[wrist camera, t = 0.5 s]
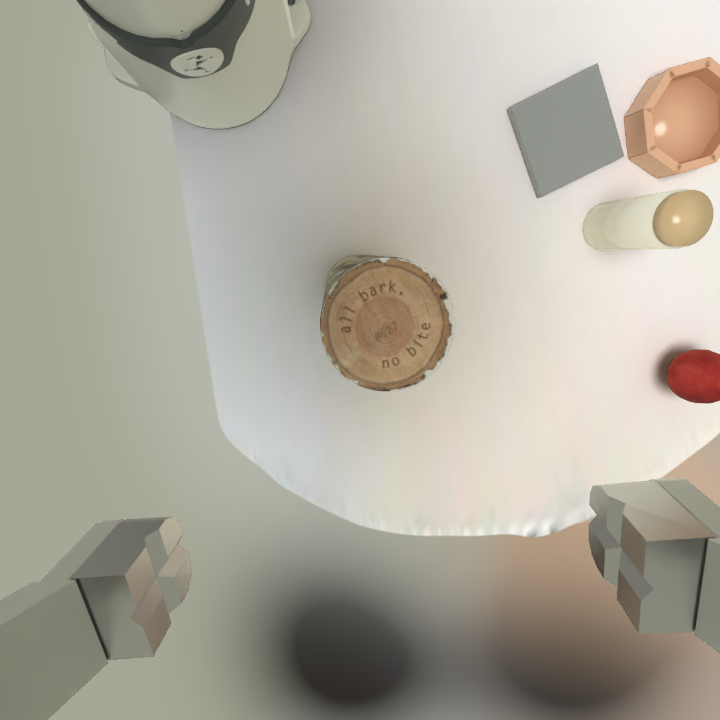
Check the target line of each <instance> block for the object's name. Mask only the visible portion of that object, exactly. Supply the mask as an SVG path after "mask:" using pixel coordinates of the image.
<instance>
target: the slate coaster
mask: <svg viewBox="0 0 720 720" xmlns="http://www.w3.org/2000/svg"><path fill="white" fill-rule="evenodd" d="M507 112H508V115H509V118H510V121H511V123H512V126H513V129H514V132H515V135H516V138H517V141H518V144H519V147H520V150H521V153H522V155H523V158H524V161H525V164H526V167H527V170H528V173H529V176H530V179H531V182H532V184H533V187H534V190H535V193H536V196H537V198H538V197H542V196H544V195H546V194H548V193H550V192H552V191H554V190H556V189H558V188H560V187H562V186H564V185H566V184H568V183H570V182H572V181H574V180H576V179H578V178H581V177H583V176H585V175H587V174H589V173H591V172H593V171H595V170H597V169H599V168H601V167H603V166H605V165H607V164H609V163H611V162H613V161H615V160H617V159H619V158H621V157H623V156H624V154H623V150H622V147H621V143H620V140H619V136H618V133H617V129H616V126H615V122H614V119H613V115H612V112H611V108H610V105H609V101H608V98H607V94H606V91H605V87H604V84H603V80H602V77H601V73H600V70H599V66H598V63H597V64H595V65H593V66H591V67H589V68H587V69H585V70H583V71H581V72H579V73H577V74H575V75H573V76H571V77H569V78H567V79H565V80H563V81H561V82H559V83H557V84H555V85H553V86H551V87H549V88H547V89H545V90H543V91H541V92H539V93H537V94H535V95H533V96H531V97H529V98H527V99H525V100H523V101H521V102H519V103H517V104H516V105H514V106H512V107H510V108H509V109H508V110H507Z"/></svg>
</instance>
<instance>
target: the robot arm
mask: <svg viewBox="0 0 720 720" xmlns="http://www.w3.org/2000/svg"><path fill="white" fill-rule="evenodd" d="M77 1H78V3H79V4H80V6H81V7H82V8H83V10H84V11H85V13H86V14H87V15H88V18H89V22H88V24H87V26H88V29H89V31H90V32H91V34H92V36H93V37H94V38H95V39H96V40H97V42H98V43H99V44H100V45H101V46H102V47H103V48H104V51H105V57H106V62H107V66H108V68H109V71H110V72H111V73H112V75H113V76H114V77H115V78H116V79H117V80H118V81H119V82H121V83H123V84H125V85H127V86H129V87H132V88H134V89H137V90H140V91H144V92H146V93H147V94H149V95H150V96H152V97H153V98H154V99H155V100H156V101H157V102H159V103H160V104H161V105H162V106H163V107H164V108H165V109H167V110H168V111H169V112H171V113H172V114H173V115H175V116H177V117H178V118H180V119H182V120H184V121H186V122H188V123H191V124H193V125H197V126H200V127H205V128H213V129H223V128H231V127H235V126H239V125H242V124H244V123H247V122H249V121H251V120H252V119H254V118H256V117H257V116H258V115H260V114H261V113H262V112H263V111H265V110H266V109H267V108H268V107H269V106H270V104H271V103H272V102H273V101H274V99H275V98H276V96H277V95H278V93H279V91H280V90H281V87H282V85H283V83H284V81H285V78H286V75H287V71H288V67H289V63H290V59H291V56H292V53H293V51H294V49H295V47H296V46H297V45H298V44H299V42H300V41H301V40H302V38H303V37H304V35H305V34H306V32H307V31H308V29H309V26H310V24H311V14H310V11H309V7H308V5H307V2H306V0H295V4H294V5H292V6H290V5H288V2H287V1H288V0H77ZM590 506H591V507H592V509H593V510H594V511H595V513H596V514H597V515H596V517H595V518H594V519H593V520H592V521H591V523H590V524H589V543H590V548H591V553H592V556H593V559H594V561H595V564H596V566H597V568H598V569H599V571H600V573H601V574H602V576H603V578H604V579H606V580H607V581H609V582H611V583H612V584H614V585H615V586H617V587H618V589H617V600H618V601H619V603H620V605H621V606H622V608H623V610H624V611H625V613H626V614H627V616H628V617H629V619H630V621H631V622H632V624H633V625H634V627H635V628H636V630H637V632H638V633H681V632H682V633H684V632H695V636H697V637H698V638H699V639H701V640H702V641H703V642H705V643H706V644H708V645H709V646H711V647H712V648H713V649H714V650H716V651H717V652H719V653H720V507H719V506H717V505H716V504H715V503H714V502H713V501H711V500H710V499H709V498H708V497H707V496H705V495H704V494H703V493H702V492H701V491H699V490H698V489H697V488H696V487H695V486H693V485H692V484H691V483H690V482H689V481H687V480H685V479H683V478H680V477H672V478H663V479H654V480H649V481H640V482H629V483H617V484H605V485H594V486H593V487H592V489H591V492H590ZM182 535H183V533H182V530H181V527H180V524H179V521H178V520H177V519H175V518H173V517H159V518H140V519H126V520H123V519H122V520H110V521H102V522H100V523H97V524H95V525H94V526H93V527H92V529H90V530H89V531H88V532H87V533H86V534H85V535H84V537H83V538H82V539H81V540H80V541H79V542H78V543H77V544H76V545H75V546H74V547H73V548H72V549H71V550H70V551H69V552H68V553H67V554H66V555H65V556H64V557H63V558H62V559H61V560H60V561H59V562H58V564H57V565H56V566H55V567H54V568H53V569H52V570H51V571H50V572H49V573H48V574H47V575H46V576H45V577H44V578H43V579H42V580H41V581H40V582H32V583H30V584H28V585H26V586H25V587H23V588H21V589H19V590H18V591H16V592H14V593H13V594H10V595H9V596H7V597H6V598H3V599H2V600H0V720H48V719H49V718H50V717H51V716H52V715H53V714H54V713H55V712H56V711H57V710H59V709H60V708H61V707H62V705H64V704H65V703H66V702H67V701H68V700H69V699H70V698H71V697H72V696H73V695H75V694H76V693H77V692H78V691H79V690H80V689H81V688H82V687H83V686H84V685H85V684H86V683H87V682H88V681H89V680H91V678H93V677H94V676H95V675H96V674H97V673H98V672H99V671H100V670H101V669H102V668H103V667H104V666H105V665H107V664H108V660H118V659H130V658H142V657H154V655H155V653H156V651H157V649H158V647H159V646H160V644H161V642H162V640H163V638H164V636H165V634H166V632H167V630H168V629H169V627H170V625H171V620H170V616H169V613H170V612H171V611H173V610H174V609H175V608H176V607H178V606H179V605H180V604H181V603H182V602H183V600H184V598H185V596H186V594H187V592H188V590H189V585H190V580H191V575H192V571H191V561H190V557H189V553H188V552H187V551H186V550H185V549H184V548H183V547H182V546H181V545H179V544H178V543H179V541H180V539H181V537H182Z"/></svg>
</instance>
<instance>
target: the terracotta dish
mask: <svg viewBox="0 0 720 720" xmlns="http://www.w3.org/2000/svg"><path fill="white" fill-rule="evenodd" d="M624 123H625V133H626V142H627V151H628V158H629V159H630V160H631V161H633V162H634V163H636V164H637V165H638V166H640V167H641V168H643V169H644V170H645V171H647V172H648V173H650V174H651V175H652V176H654V177H655V178H661V177H666V176H670V175H674V174H679V173H682V172H686V171H689V170H692V169H696V168H699V167H703V166H706V165H710V164H713V163H715V162H717V160H718V159H719V157H720V65H719V64H718V63H717V62H716V61H714V60H713V59H712V58H711V57H707V58H703V59H700V60H696V61H693V62H690V63H686V64H683V65H679V66H676V67H672V68H669V69H667V70H665V71H664V72H662V73H660V74H658V75H656V76H654V77H653V78H651V79H649V80H647V82H646V83H645V85H644V87H643V88H642V90H641V91H640V93H639V95H638V96H637V98H636V99H635V101H634V102H633V104H632V106H631V107H630V109H629V110H628V112H627V114H626V115H625V117H624Z"/></svg>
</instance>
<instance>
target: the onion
mask: <svg viewBox="0 0 720 720" xmlns="http://www.w3.org/2000/svg"><path fill="white" fill-rule="evenodd" d="M667 382H668V385H669V387H670V388H671V389H672V391H673V392H674V393H675V394H676V395H677V396H679V397H680V398H683V399H685V400H687V401H690V402H694V403H713V402H717V401H720V354H717V353H715V352H712V351H709V350H690V351H687V352H684V353H682V354H680V355H678V356H677V357H676V358H675V359H674V360H673V361H672V362H671V364H670V366H669V368H668V372H667Z"/></svg>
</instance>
